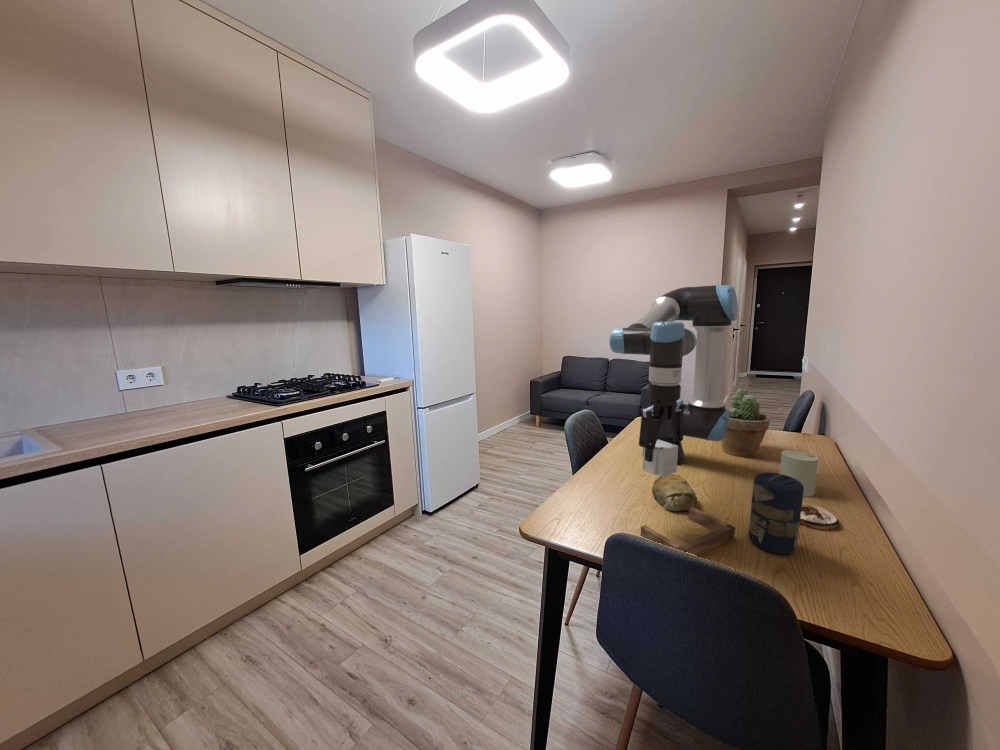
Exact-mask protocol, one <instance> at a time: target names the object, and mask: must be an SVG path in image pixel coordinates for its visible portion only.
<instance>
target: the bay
mask: <svg viewBox="0 0 1000 750" xmlns="http://www.w3.org/2000/svg"><path fill="white" fill-rule="evenodd" d="M687 518H688V520H691V521H693V522H694V523H696V524H699V525H700V526H703V527H704V528H707V529H708V530H710V532H708V533H706V534H704V535H702V536H700V537H697V538H695V539H692V540H690V541H688V542H686V543H683V544H681V545H680V544H679V543H677V542H675V541H674V540H671V539H670V538H668V537H666V536H665V535H663V534H662V533H660V532H658V531H656V530H654V529H653V528H651V527H650V526H647V524H644V525H641V526H640V536H642V537H644V538H647V539H649V540H652V541H654V542H657V543H661V544H663V545H666V546H669V547H672V548H675V549H678V550H681V551H684V552H688V553H691V554H694V555H698V556H699V555H702V554H704V553H706V552H708V551H710V550H712V549H715V548H716V547H718V546H721V545H722V544H723V545H724V543H727V542H729V541H731V540H733V539H734V538H735V531H736V530H735V529H736V526H734V525H732V524H730V523H728V522H725V521H723V520H721V519H718V518H717V517H715V516H713V515H711V514H709V513H707V512H705V511H703V510H700V509H698V508H695V506H694V507H691V508H689V510H688V517H687ZM703 552H704V553H703Z"/></svg>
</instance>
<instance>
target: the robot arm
mask: <svg viewBox="0 0 1000 750" xmlns="http://www.w3.org/2000/svg"><path fill="white" fill-rule="evenodd" d="M738 312H739V307H738V297H737V292H736V290H735V288H734V287H733V286H732V285H727V284H726V285H725V284H724V285H722V284H720V285H719V284H716V285H704V286H703V285H701V286H684V287H679V288H676V289H673V290H671V291H668V292H667V293H664V294H662V295H661V296H659V297H658V298H656V299H655V300H654V301H653V302H652V304H651V307H650V308H649V309H648V310H647V311H645V312H644V313H643V314H642V315H641V316H640V317H638V318H637V319H636V320H635V321H633V322H632V323H631V324H630V325H629V326H627V327H616V328H614V329H612V331H611V332H610V336H609V348H610V350H611V351H612V352H613V353H615V354H623V355H640V356H641V355H645V356H649V369H648V381H649V382H650V383H649V384H648V385H647V386H648V391H647V396H648V398H649V399H650V402H649V405H648V407H647V408H641V409H640V417H641V418H640V419H641V420H640V430H639V436H638V437H639V439H638V446H639V447H641V448H642V454H641V455H642V456H643V454H644V448H645V460H646V464H645V470H644V471H645V472H647V473H648V474H651V475H655V476H656V458H657V450H656V449H654V448H655V445H656V441H657V440H662V441H665V442H668V443H671V444H674V445H677V446H678V456H677V465H680V464H684V463H685V460H686V459H685V458H686V455H685V452H684V448H683V443H682V441H684V437H689V438H694V439H700V440H705V441H713V442H721V441H720V440H722V439H723V437H724V435H725V432H726V430H727V426H728V423H729V418H730V410H728V408H726V403H725V401H724V400H722V385H723V372H724V371H723V370H724V357H725V345H726V344H725V343H726V331H727V330H728V329H729V328H730V327H731V326H732V322H734V321H736V320H737V319H738ZM683 321H691V322H692V325H691V326H692V327H693V329H695V330H696V335H695V333H694V332H693V331H692V330H690V329H688V328H686V327H685V324H684V322H683ZM694 349H695V362H694V363H695V364H694V377H693V378H694V381H693V396H692V398H690V399H688V404H684V400H683V399H682V398H681V391H682V390H681V389H682V387H681V386H682V385H680V383H681V382H682V369H683V357H685V356H687V355H689V354H690V353H691V352H693V351H694ZM650 444H651V445H650Z"/></svg>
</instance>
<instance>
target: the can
mask: <svg viewBox="0 0 1000 750" xmlns="http://www.w3.org/2000/svg"><path fill="white" fill-rule="evenodd" d="M818 463H819V457H818V456H817V455H815V454H814V453H810V452H805V451H802V450H794V449H785V450H782V451H781V457H780V466H779V467H780V468H779V474H783V475H787V476H790V477H792V478H794V479H796V480H798V481H799V482H801V483H802V485H803V487H804V492H803V498H804V497H807V498H808V497H813V496H814V495H815V494H816V493H815V488H816V479H817V471H818Z"/></svg>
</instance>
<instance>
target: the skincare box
mask: <svg viewBox="0 0 1000 750" xmlns="http://www.w3.org/2000/svg"><path fill="white" fill-rule="evenodd" d="M650 445H651V444H650ZM643 448H644V447H643ZM654 449H656V450H657V458H656V474H655V476H658V477H663V476H666V475H669V474H675V473H676V472H677V468H678V467H677V466H678V464H677V456H678V446H677V445H674V444H671V443H668V442H665V441H662V440H657V441H656V445H655V448H654ZM642 454H643V453H642ZM642 457H643V458H642V470H644V471H645V464H646V460H645V448H644V454H643V455H642Z"/></svg>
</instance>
